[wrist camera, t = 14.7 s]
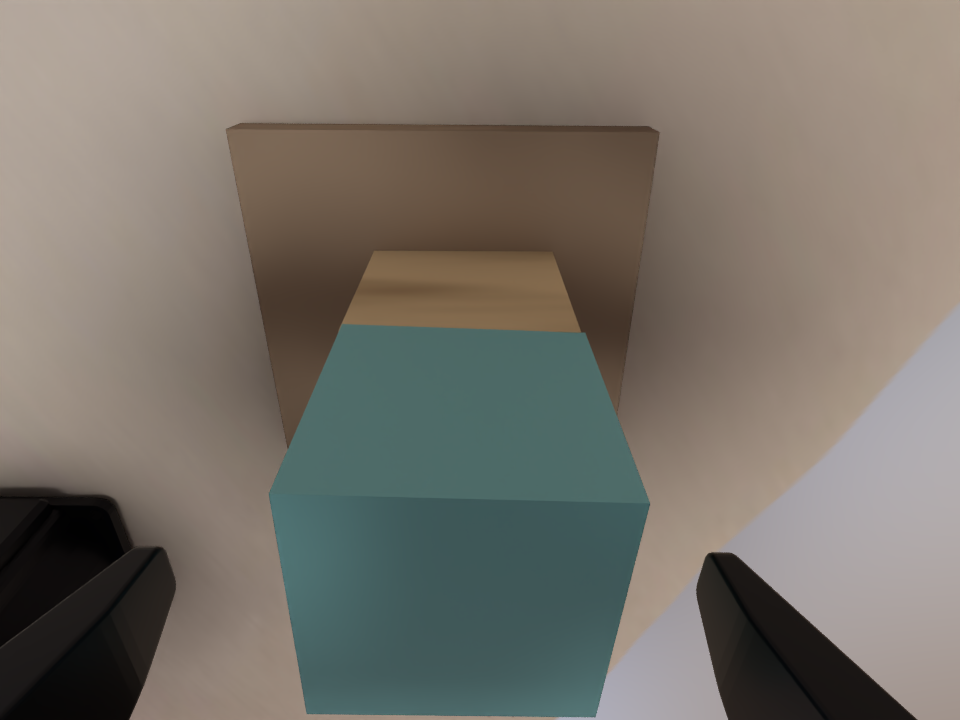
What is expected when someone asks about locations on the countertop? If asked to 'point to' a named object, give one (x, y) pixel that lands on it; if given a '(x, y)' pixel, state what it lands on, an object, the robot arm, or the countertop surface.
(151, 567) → the robot arm
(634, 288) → the walnut board
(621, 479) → the teal block
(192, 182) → the countertop surface
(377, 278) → the oak block
